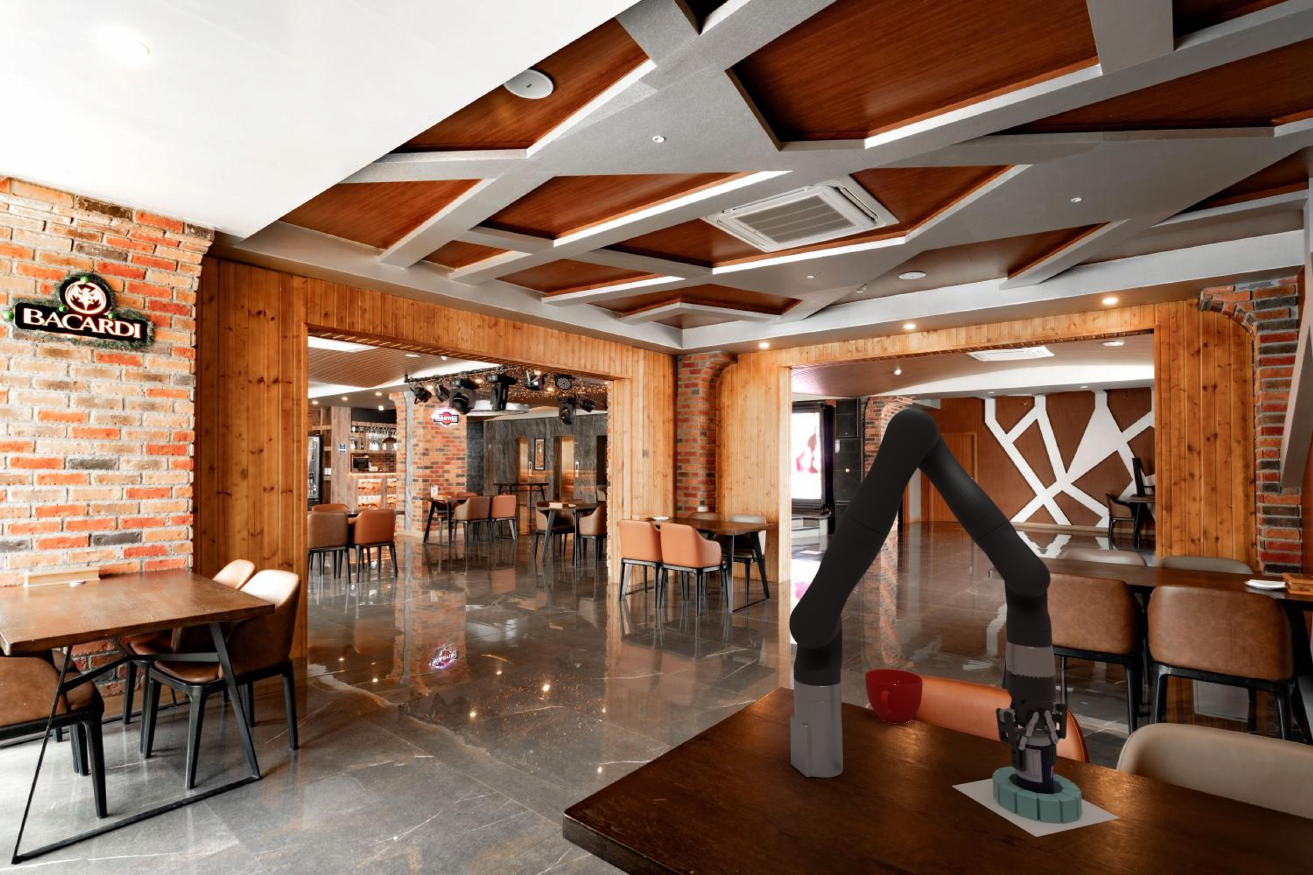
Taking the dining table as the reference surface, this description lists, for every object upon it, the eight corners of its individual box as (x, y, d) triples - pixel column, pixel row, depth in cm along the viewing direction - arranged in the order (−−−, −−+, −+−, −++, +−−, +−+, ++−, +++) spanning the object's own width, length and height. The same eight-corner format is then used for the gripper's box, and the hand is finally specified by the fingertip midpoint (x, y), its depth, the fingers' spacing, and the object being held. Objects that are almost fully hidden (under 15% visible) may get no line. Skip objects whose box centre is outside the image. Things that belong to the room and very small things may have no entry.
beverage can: (1060, 813, 109) (1056, 740, 110) (1023, 810, 110) (1020, 738, 111) (1047, 797, 115) (1043, 727, 115) (1012, 794, 116) (1009, 725, 117)
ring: (1040, 828, 104) (1039, 806, 104) (977, 792, 117) (976, 772, 117) (1099, 815, 108) (1098, 794, 108) (1033, 781, 121) (1032, 762, 121)
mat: (1036, 841, 102) (1036, 836, 102) (951, 790, 119) (951, 785, 119) (1120, 822, 107) (1119, 817, 108) (1027, 776, 125) (1027, 771, 125)
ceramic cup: (855, 728, 149) (854, 683, 150) (873, 706, 164) (872, 666, 164) (915, 739, 142) (913, 693, 143) (928, 715, 157) (926, 673, 158)
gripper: (1042, 659, 120) (1047, 752, 119) (981, 666, 115) (984, 763, 114) (1080, 670, 113) (1085, 770, 111) (1016, 678, 108) (1020, 782, 107)
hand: (1034, 766), depth 113 cm, fingers open, 6 cm apart
